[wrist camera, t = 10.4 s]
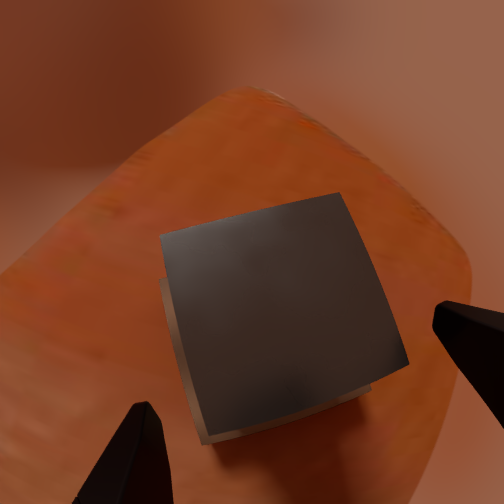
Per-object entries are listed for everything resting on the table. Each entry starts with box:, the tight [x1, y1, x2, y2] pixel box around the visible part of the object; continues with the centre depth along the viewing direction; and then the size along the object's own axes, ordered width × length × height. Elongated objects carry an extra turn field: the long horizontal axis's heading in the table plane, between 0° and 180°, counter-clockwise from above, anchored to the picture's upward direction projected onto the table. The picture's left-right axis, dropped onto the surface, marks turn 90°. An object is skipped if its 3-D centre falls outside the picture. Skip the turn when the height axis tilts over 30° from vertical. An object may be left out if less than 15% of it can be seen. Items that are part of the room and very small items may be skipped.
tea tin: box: [160, 192, 409, 436], centre depth 13 cm, size 7×7×10 cm
